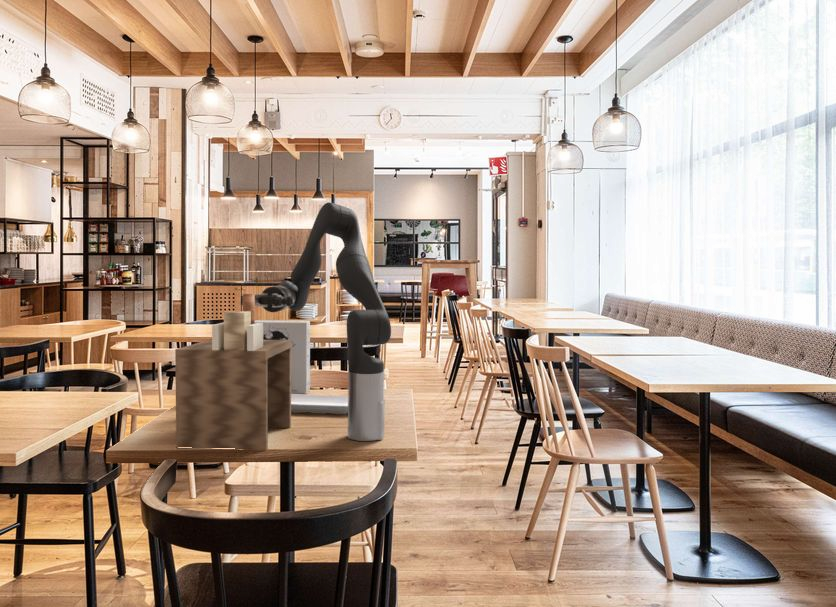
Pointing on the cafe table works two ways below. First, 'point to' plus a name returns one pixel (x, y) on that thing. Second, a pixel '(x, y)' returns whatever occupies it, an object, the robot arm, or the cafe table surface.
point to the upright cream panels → (252, 336)
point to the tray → (319, 403)
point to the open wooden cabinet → (232, 395)
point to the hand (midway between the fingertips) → (260, 302)
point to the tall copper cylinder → (239, 324)
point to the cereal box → (293, 349)
